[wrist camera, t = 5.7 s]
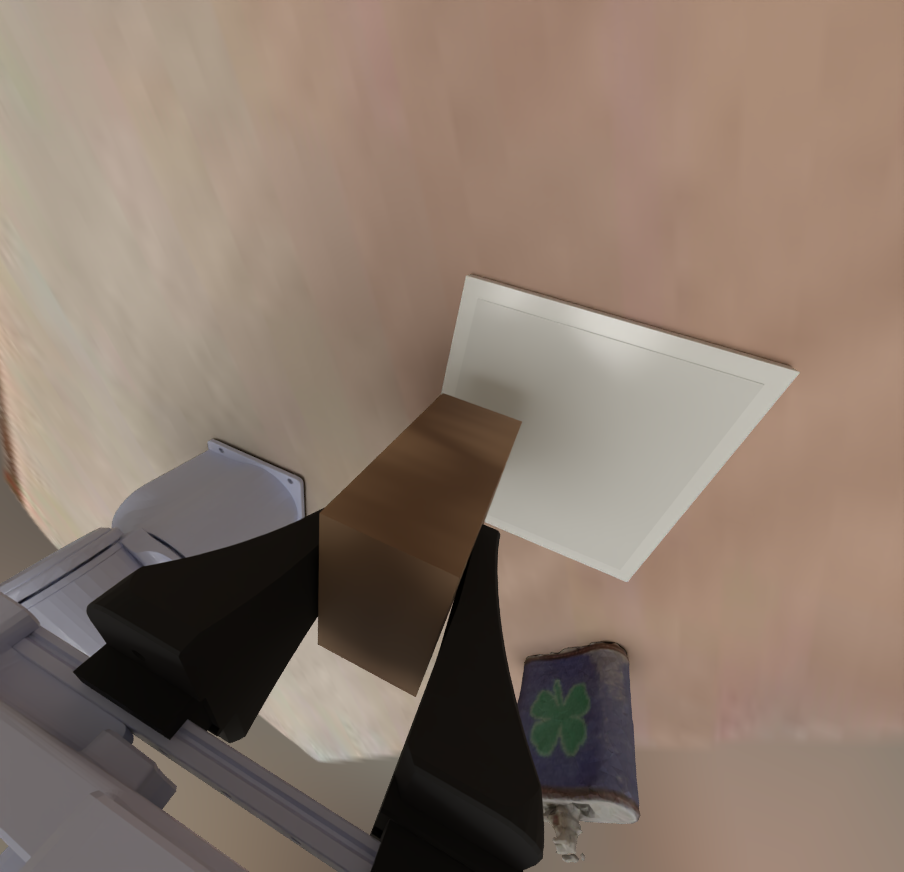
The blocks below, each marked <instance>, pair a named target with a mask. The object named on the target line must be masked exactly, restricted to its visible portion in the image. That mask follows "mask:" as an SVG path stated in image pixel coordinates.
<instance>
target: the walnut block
mask: <svg viewBox="0 0 904 872" xmlns="http://www.w3.org/2000/svg"><path fill="white" fill-rule="evenodd" d="M521 424H522V421H519V420H516V419H514V418H511V417H508V416H505V415H503V414H500V413H497V412H494V411H492V410H489V409H486V408H483V407H480V406H478V405H475V404H472V403H469V402H467V401H464V400H461V399H458V398H456V397H453V396H450V395H447V394H444V393H442V394H441V395H440V396H439V397H438V398H437V399H436V400H435V401H434V402H433V403H432V404H431V405H430V406H429V407H428V408H427V409H426V410H425V411H424V412H423V413H422V414H421V415H420V416H419V417H418V418H417V419H416V420H415V421H414V422H413V423H412V424H411V425H410V426H409V427H407V428H406V429H405V430H404V431H403V432H402V433H401V434H400V435H399V436H398V437H397V438H396V439H395V440H394V441H393V442H392V443H391V444H390V445H389V446H388V447H387V448H386V449H385V450H384V451H383V452H382V453H381V454H380V455H379V456H378V457H377V458H376V459H375V460H374V461H373V462H372V463H370V464H369V465H368V466H367V467H366V468H365V469H364V470H363V471H362V472H361V473H360V474H359V475H358V476H357V477H356V478H355V479H354V480H353V481H352V482H351V483H350V484H349V485H348V486H347V487H346V488H345V489H344V490H343V491H342V492H341V493H340V494H339V495H338V496H337V497H336V498H335V499H334V500H332V501H331V502H330V503H329V504H328V505H327V506H326V507H325V508H324V509H323V510H322V511H321V512H320V513H319V593H318V645H320V646H322V647H324V648H326V649H328V650H330V651H331V652H333V653H335V654H337V655H339V656H341V657H342V658H344V659H346V660H348V661H350V662H352V663H354V664H355V665H357V666H359V667H361V668H363V669H365V670H366V671H368V672H370V673H372V674H374V675H376V676H378V677H379V678H381V679H383V680H385V681H387V682H389V683H390V684H392V685H394V686H396V687H398V688H400V689H402V690H403V691H405V692H407V693H409V694H411V695H413V696H414V697H416V695H417V692H418V690H419V687H420V685H421V682H422V680H423V677H424V675H425V672H426V670H427V667H428V665H429V662H430V660H431V657H432V654H433V652H434V649H435V647H436V644H437V641H438V639H439V636H440V634H441V631H442V629H443V626H444V624H445V621H446V619H447V616H448V613H449V611H450V608H451V606H452V603H453V601H454V598H455V595H456V592H457V589H458V586H459V584H460V581H461V578H462V576H463V573H464V570H465V568H466V565H467V562H468V560H469V557H470V554H471V552H472V549H473V546H474V544H475V541H476V539H477V536H478V534H479V531H480V529H481V526H482V524H484V522H485V519H486V516H487V514H488V511H489V508H490V506H491V503H492V500H493V498H494V495H495V492H496V490H497V487H498V485H499V482H500V479H501V477H502V474H503V471H504V469H505V466H506V463H507V461H508V458H509V455H510V453H511V450H512V447H513V445H514V442H515V439H516V437H517V434H518V432H519V429H520V426H521Z"/></svg>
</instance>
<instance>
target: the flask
mask: <svg viewBox="0 0 904 872" xmlns="http://www.w3.org/2000/svg"><path fill="white" fill-rule="evenodd" d="M524 663H525V665H524V672H523V678H522V685H521V691H520V696H519V700H518V703H517V706H518V710H519V714H520V718H521V721H522V725H523V728H524V732H525V735H526V739H527V742H528V746H529V749H530V752H531V755H532V759H533V762H534V765H535V768H536V771H537V774H538V777H539V780H540V784H541V790H542V800H543V814H544V821H545V822H549V823H550V824H551V825H552V827H553V828H554V829H555V833H556V837H557V838H555V837H554V838H553V842H554V843H555V845H556V849H557V851H556V853H558V854H568V853H573V854H571V855H562V858H563V860H564V861H565V862H575V863H576V862H578V860H579V858H578V857H577V856H576V855H575V854H576V844H577V838H578V836H579V835H580V833H582V830H581V826H580V824H579V821H585V822H599V823H618V824H624V823H635V822H637V821H638V820H639V817H640V812H639V798H638V790H637V779H636V764H635V746H634V730H633V720H632V708H631V693H630V679H629V659H628V657H627V653H626V651H625V650H623V649H621V647H619V645H618V644H617V643H612V644H607V643H606V644H605V643H603V642H599V643H597V642H596V643H590V646H584V647H578V648H576V647H573V648H567V649H563V650H562V651H561V652H560V653H559V654H554V653H552V652H551V653H550V654H548V655H540V654H539V655H538V656H536V657H535V656H528V657H527V658H526V660H525V662H524ZM584 859H585V855H584V854H583V853H582V854H581V860H584Z"/></svg>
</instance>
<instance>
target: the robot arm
mask: <svg viewBox="0 0 904 872" xmlns="http://www.w3.org/2000/svg"><path fill="white" fill-rule="evenodd" d="M208 448H209V450H207V451H205V452H204V453H202V454H200V455H198V456H196V457H194V458H193V459H191V460H189V461H187V462H185V463H183V464H182V465H180V466H178V467H176V468H174V469H172V470H171V471H169V472H167V473H165V474H163V475H161V476H160V477H158V478H156V479H154V480H152V481H150V482H149V483H147V484H145V485H143V486H142V487H140V488H138V489H137V490H136V491H134V492H133V493H132V494H131V495H130V496H129V497H128V498H127V499H126V500H125V501H124V502H123V503H122V504H121V505H120V507H119V508H118V510H117V511H116V513H115V515H114V518H113V521H112V528H111V529H110V528H98V529H96V530H94V531H92V532H90V533H88V534H86V535H84V536H83V537H81V538H79V539H77V540H75V541H74V542H72V543H70V544H68V545H66V546H65V547H63V548H61V549H59V550H57V551H56V552H54V553H52V554H50V555H49V556H47V557H45V558H43V559H42V560H40V561H38V562H37V563H35V564H33V565H31V566H30V567H28V568H26V569H24V570H23V571H21V572H19V573H18V574H16V575H14V576H13V577H11V578H9V579H8V580H6V581H4V582H3V583H1V584H0V838H1V839H2V840H3V841H4V842H5V843H6V844H7V845H8V847H7V848H6V849H5V850H4V852H3V853H2V854H1V855H0V872H249V871H248V870H246V869H245V868H243V867H242V866H241V865H239V864H238V863H237V862H235V861H234V860H232V859H231V858H230V857H228V856H227V855H225V854H224V853H223V852H221V851H220V850H218V849H217V848H216V847H214V846H213V845H211V844H210V843H209V842H207V841H206V840H204V839H203V838H202V837H200V836H199V835H197V834H196V833H194V832H193V831H192V830H190V829H189V828H187V827H186V826H185V825H183V824H182V823H180V822H179V821H178V820H176V819H175V818H173V817H172V816H170V815H169V814H168V813H166V812H165V811H163V810H162V809H163V808H164V806H165V805H166V804H167V802H168V801H169V800H170V798H171V797H172V796H173V795H174V793H175V792H176V787H177V786H176V785H175V784H174V783H173V782H172V781H170V780H169V779H168V778H167V777H166V776H165V775H164V774H163V773H162V772H161V771H160V769H158V767H157V765H156V763H155V762H154V761H153V760H151V759H150V758H149V757H147V756H146V755H145V754H143V753H142V752H141V751H139V750H138V749H137V748H136V747H134V746H133V745H132V743H133V734H134V735H135V736H137V737H138V738H140V739H141V740H142V741H144V742H146V743H147V744H148V745H150V746H151V747H153V748H155V749H156V750H157V751H159V752H160V753H162V754H163V755H165V756H166V757H168V758H169V759H171V760H172V761H174V762H175V763H177V764H178V765H180V766H181V767H183V768H184V769H186V770H187V771H189V772H190V773H192V774H193V775H195V776H196V777H198V778H199V779H201V780H202V781H204V782H205V783H207V784H208V785H210V786H211V787H213V788H214V789H215V790H217V791H218V792H220V793H221V794H223V795H225V796H226V797H227V798H229V799H230V800H232V801H233V802H235V803H237V804H238V805H239V806H241V807H242V808H244V809H245V810H247V811H248V812H250V813H251V814H253V815H254V816H256V817H257V818H259V819H260V820H262V821H263V822H265V823H266V824H268V825H269V826H271V827H272V828H274V829H275V830H277V831H278V832H280V833H281V834H283V835H284V836H286V837H287V838H289V839H290V840H291V841H293V842H294V843H296V844H298V845H299V846H301V847H302V848H303V849H305V850H306V851H308V852H309V853H311V854H312V855H314V856H315V857H317V858H318V859H320V860H321V861H323V862H324V863H326V864H327V865H329V866H330V867H332V868H333V869H335V870H336V871H338V872H523V870H525V869H527V868H530V867H532V866H534V865H536V864H537V863H538V862H540V860H541V859H542V858H543V848H544V814H543V800H542V790H541V784H540V780H539V777H538V774H537V771H536V768H535V765H534V762H533V759H532V755H531V752H530V749H529V746H528V742H527V739H526V735H525V732H524V728H523V725H522V721H521V718H520V714H519V710H518V706H517V702H516V698H515V694H514V689H513V685H512V681H511V677H510V672H509V667H508V662H507V657H506V652H505V646H504V640H503V633H502V626H501V618H500V608H499V596H498V575H497V564H498V546H499V539H500V533H499V531H498V530H495V529H493V528H490V527H488V526H486V525H483V524H482V526H481V529H480V531H479V534H478V536H477V539H476V541H475V544H474V546H473V549H472V552H471V554H470V557H469V560H468V562H467V565H466V568H465V570H464V573H463V576H462V578H461V581H460V584H459V586H458V589H457V592H456V595H455V598H454V602H453V605H452V609H451V612H450V615H449V619H448V622H447V626H446V629H445V633H444V636H443V640H442V643H441V646H440V650H439V653H438V656H437V659H436V662H435V665H434V668H433V670H432V673H431V676H430V678H429V681H428V684H427V686H426V689H425V691H424V694H423V697H422V699H421V702H420V705H419V707H418V710H417V713H416V715H415V718H414V721H413V723H412V726H411V728H410V731H409V734H408V736H407V739H406V742H405V744H404V747H403V750H402V752H401V755H400V757H399V760H398V763H397V766H396V768H395V771H394V774H393V776H392V779H391V782H390V784H389V786H388V789H387V792H386V794H385V797H384V800H383V802H382V805H381V808H380V810H379V813H378V815H377V818H376V821H375V824H374V826H373V829H372V831H371V834H370V835H368V834H367V833H365V832H364V831H362V830H361V829H359V828H358V827H356V826H354V825H353V824H351V823H350V822H348V821H347V820H345V819H343V818H342V817H340V816H339V815H337V814H336V813H334V812H332V811H331V810H329V809H328V808H326V807H325V806H323V805H321V804H320V803H318V802H317V801H315V800H314V799H312V798H310V797H309V796H307V795H306V794H304V793H303V792H301V791H299V790H298V789H296V788H295V787H293V786H291V785H290V784H288V783H287V782H285V781H284V780H282V779H281V778H279V777H277V776H276V775H274V774H273V773H271V772H270V771H268V770H266V769H265V768H263V767H261V766H260V765H259V764H257V763H256V762H254V761H252V760H251V759H249V758H248V757H246V756H245V755H242V754H241V753H240V752H238V751H237V750H235V749H234V748H232V747H230V746H229V745H227V744H226V743H224V742H223V741H221V740H219V739H218V738H216V737H215V736H213V735H212V734H210V733H208V732H207V730H208V731H210V732H211V733H213V734H214V735H216V736H219V737H221V738H222V739H224V740H225V741H227V742H228V743H232V742H235V741H237V740H240V739H241V738H243V737H245V736H246V734H247V732H248V730H249V729H250V727H251V725H252V724H253V722H254V720H255V718H256V717H257V715H258V713H259V711H260V710H261V708H262V706H263V704H264V703H265V701H266V699H267V698H268V696H269V694H270V692H271V691H272V689H273V687H274V686H275V684H276V682H277V681H278V679H279V677H280V676H281V674H282V672H283V671H284V669H285V667H286V666H287V664H288V662H289V661H290V659H291V658H292V656H293V654H294V653H295V651H296V650H297V648H298V646H299V645H300V643H301V642H302V640H303V638H304V637H305V635H306V634H307V632H308V631H309V629H310V627H311V626H312V624H313V623H314V621H315V620H316V618H317V617H318V593H319V513H320V512H321V511H322V510H323V509H324V508H323V509H321V510H319V511H317V512H315V513H313V514H310V515H308V516H306V517H305V511H304V486H303V480H302V479H301V478H300V477H298V476H296V475H294V474H291V473H289V472H287V471H285V470H282V469H280V468H278V467H276V466H273V465H271V464H269V463H267V462H264V461H262V460H260V459H258V458H255V457H253V456H251V455H248V454H246V453H244V452H242V451H239V450H237V449H235V448H233V447H230V446H228V445H226V444H224V443H221V442H219V441H217V440H214V439H211V440H210V441H208Z"/></svg>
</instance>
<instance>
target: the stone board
mask: <svg viewBox="0 0 904 872" xmlns="http://www.w3.org/2000/svg"><path fill="white" fill-rule="evenodd" d="M799 373H800V372H799V371H797V370H796V369H794V368H793V367H791V366H788V365H785V364H782V363H778V362H775V361H771V360H768V359H764V358H761V357H757V356H754V355H750V354H747V353H743V352H740V351H736V350H733V349H729V348H726V347H723V346H719V345H716V344H712V343H709V342H705V341H702V340H698V339H695V338H691V337H688V336H684V335H681V334H677V333H674V332H671V331H667V330H664V329H660V328H657V327H653V326H650V325H646V324H643V323H639V322H636V321H632V320H629V319H625V318H622V317H618V316H615V315H612V314H608V313H605V312H601V311H598V310H594V309H591V308H587V307H584V306H580V305H577V304H573V303H570V302H566V301H563V300H559V299H556V298H553V297H549V296H546V295H542V294H539V293H535V292H532V291H528V290H525V289H521V288H518V287H514V286H511V285H507V284H504V283H501V282H497V281H494V280H490V279H487V278H483V277H480V276H476V275H473V274H470V275H466V279H465V284H464V288H463V293H462V298H461V302H460V307H459V312H458V316H457V321H456V326H455V331H454V335H453V340H452V345H451V349H450V354H449V359H448V363H447V368H446V373H445V378H444V382H443V387H442V392H441V394H442V393H444V394H447V395H450V396H453V397H456V398H458V399H461V400H464V401H467V402H469V403H472V404H475V405H478V406H480V407H483V408H486V409H489V410H492V411H494V412H497V413H500V414H503V415H505V416H508V417H511V418H514V419H516V420H519V421H522V424H521V426H520V429H519V432H518V434H517V437H516V439H515V442H514V445H513V447H512V450H511V453H510V455H509V458H508V461H507V463H506V466H505V469H504V471H503V474H502V477H501V479H500V482H499V485H498V487H497V490H496V492H495V495H494V498H493V500H492V503H491V506H490V508H489V511H488V514H487V516H486V519H485V522H486V523H488V524H491V525H493V526H495V527H498V528H500V529H502V530H505V531H507V532H509V533H512V534H514V535H517V536H519V537H521V538H524V539H526V540H528V541H531V542H533V543H535V544H538V545H540V546H543V547H545V548H547V549H550V550H552V551H554V552H557V553H559V554H561V555H564V556H566V557H569V558H571V559H573V560H576V561H578V562H580V563H583V564H585V565H588V566H590V567H592V568H595V569H597V570H599V571H602V572H604V573H606V574H609V575H611V576H614V577H616V578H618V579H621V580H623V581H625V582H628V581H629V579H630V578H631V577H632V576H633V575H634V573H635V572H636V571H637V570H638V568H639V567H640V566H641V565H642V564H643V562H644V561H645V560H646V559H647V558H648V556H649V555H650V554H651V553H652V551H653V550H654V549H655V548H656V547H657V545H658V544H659V543H660V542H661V541H662V539H663V538H664V537H665V536H666V534H667V533H668V532H669V531H670V530H671V528H672V527H673V526H674V525H675V524H676V522H677V521H678V520H679V519H680V517H681V516H682V515H683V514H684V513H685V511H686V510H687V509H688V508H689V507H690V505H691V504H692V503H693V502H694V500H695V499H696V498H697V497H698V496H699V494H700V493H701V492H702V491H703V489H704V488H705V487H706V486H707V485H708V483H709V482H710V481H711V480H712V479H713V477H714V476H715V475H716V474H717V472H718V471H719V470H720V469H721V468H722V466H723V465H724V464H725V463H726V462H727V460H728V459H729V458H730V457H731V455H732V454H733V453H734V452H735V451H736V449H737V448H738V447H739V446H740V445H741V443H742V442H743V441H744V440H745V438H746V437H747V436H748V435H749V434H750V432H751V431H752V430H753V429H754V428H755V426H756V425H757V424H758V423H759V421H760V420H761V419H762V418H763V417H764V415H765V414H766V413H767V412H768V411H769V409H770V408H771V407H772V406H773V404H774V403H775V402H776V401H777V400H778V398H779V397H780V396H781V395H782V394H783V392H784V391H785V390H786V389H787V387H788V386H789V385H790V384H791V383H792V381H793V380H794V379H795V378H796V377H797V375H798V374H799Z"/></svg>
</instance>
